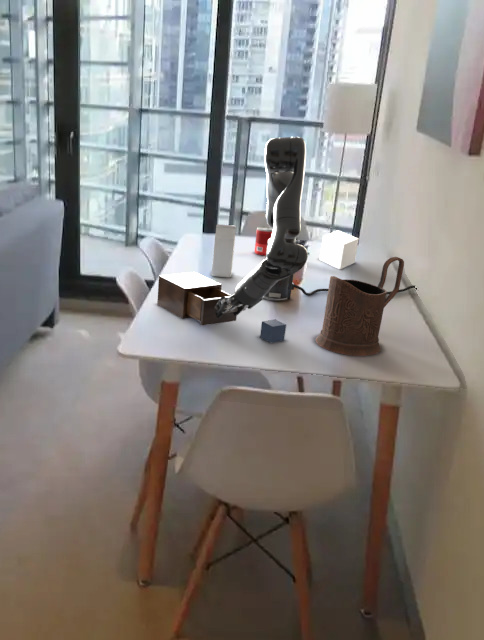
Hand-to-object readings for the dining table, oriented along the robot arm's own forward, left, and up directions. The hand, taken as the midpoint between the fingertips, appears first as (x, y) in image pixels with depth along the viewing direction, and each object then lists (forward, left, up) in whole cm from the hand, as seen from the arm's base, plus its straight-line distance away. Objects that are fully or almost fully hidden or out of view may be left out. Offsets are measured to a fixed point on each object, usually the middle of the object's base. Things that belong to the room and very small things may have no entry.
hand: (225, 314), depth 215 cm
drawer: (+2, -7, -4) cm, 9 cm away
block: (-12, +9, -5) cm, 16 cm away
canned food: (-47, -94, -5) cm, 105 cm away
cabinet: (+6, -20, -5) cm, 21 cm away
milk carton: (-18, -61, -5) cm, 63 cm away
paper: (-75, -81, -5) cm, 110 cm away
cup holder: (-36, +14, -5) cm, 39 cm away
